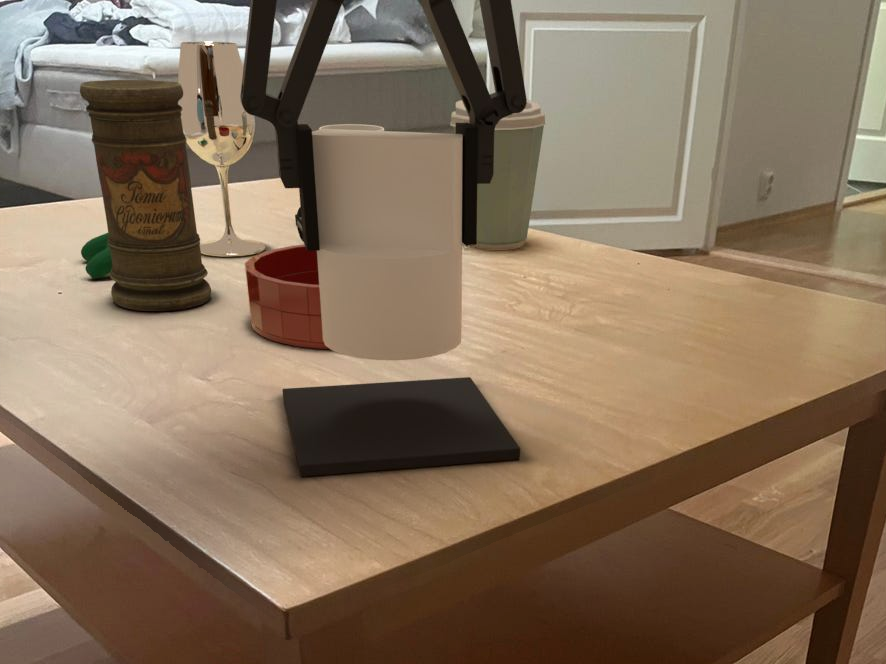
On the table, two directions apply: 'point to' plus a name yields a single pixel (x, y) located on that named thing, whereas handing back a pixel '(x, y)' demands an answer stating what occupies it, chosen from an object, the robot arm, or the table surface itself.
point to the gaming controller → (97, 256)
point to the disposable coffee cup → (508, 178)
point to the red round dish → (286, 296)
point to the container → (146, 194)
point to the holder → (394, 426)
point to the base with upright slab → (389, 242)
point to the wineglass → (216, 124)
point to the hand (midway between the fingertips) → (389, 242)
